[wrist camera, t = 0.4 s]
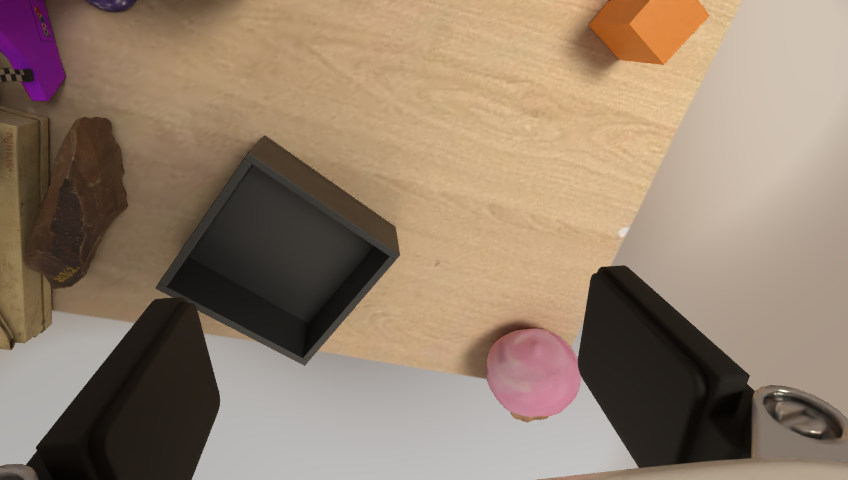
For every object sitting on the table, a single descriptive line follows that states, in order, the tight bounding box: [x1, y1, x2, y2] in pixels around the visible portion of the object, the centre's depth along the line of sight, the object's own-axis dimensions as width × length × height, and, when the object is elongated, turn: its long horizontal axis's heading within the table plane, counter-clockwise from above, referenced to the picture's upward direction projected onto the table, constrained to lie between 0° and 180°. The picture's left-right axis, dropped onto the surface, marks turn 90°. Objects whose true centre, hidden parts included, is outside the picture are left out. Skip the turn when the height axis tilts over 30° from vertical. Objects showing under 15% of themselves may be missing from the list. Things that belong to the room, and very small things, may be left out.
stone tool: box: [24, 117, 128, 289], centre depth 34 cm, size 6×5×15 cm
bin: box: [156, 136, 400, 366], centre depth 37 cm, size 13×13×6 cm
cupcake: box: [487, 328, 581, 422], centre depth 45 cm, size 9×9×10 cm
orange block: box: [589, 0, 709, 65], centre depth 33 cm, size 4×4×6 cm
